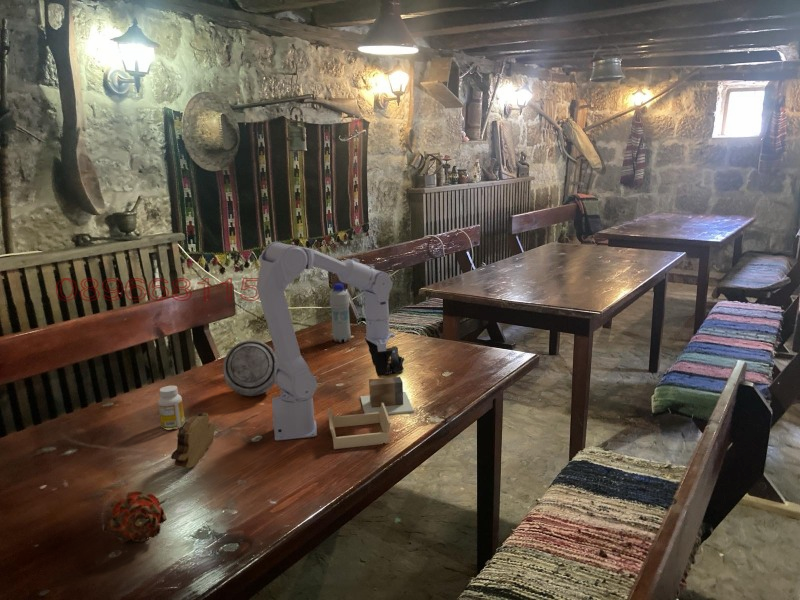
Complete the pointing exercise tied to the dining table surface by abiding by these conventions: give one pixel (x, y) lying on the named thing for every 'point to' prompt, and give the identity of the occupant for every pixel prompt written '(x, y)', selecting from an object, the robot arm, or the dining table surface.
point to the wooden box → (360, 420)
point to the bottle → (340, 313)
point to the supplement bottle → (170, 407)
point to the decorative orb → (250, 368)
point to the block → (386, 391)
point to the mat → (390, 409)
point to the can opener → (395, 362)
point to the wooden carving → (193, 440)
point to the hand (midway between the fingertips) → (379, 369)
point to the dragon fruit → (136, 517)
